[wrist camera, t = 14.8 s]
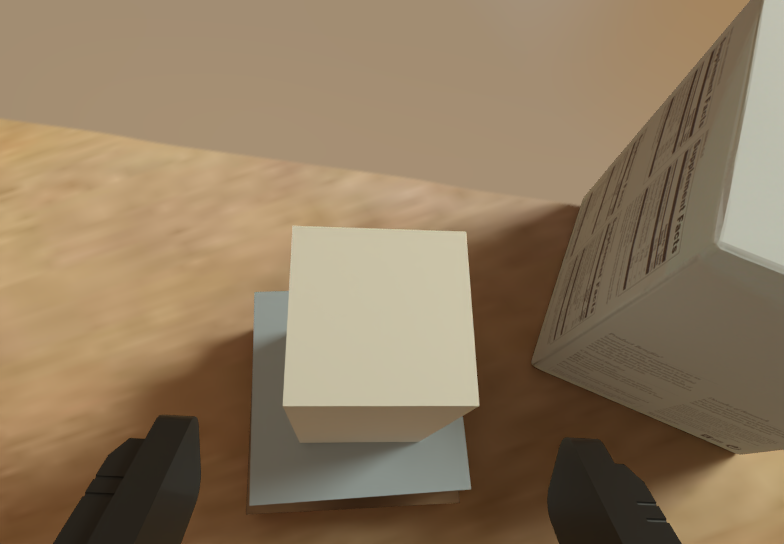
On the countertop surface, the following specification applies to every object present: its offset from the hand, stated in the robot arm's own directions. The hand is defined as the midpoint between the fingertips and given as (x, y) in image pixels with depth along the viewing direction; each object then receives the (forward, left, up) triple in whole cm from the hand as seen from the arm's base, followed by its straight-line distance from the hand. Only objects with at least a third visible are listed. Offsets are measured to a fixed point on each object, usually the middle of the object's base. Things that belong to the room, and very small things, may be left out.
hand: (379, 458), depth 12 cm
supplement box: (-19, -9, -19) cm, 29 cm away
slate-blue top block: (0, -4, -15) cm, 16 cm away
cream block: (0, -4, -11) cm, 12 cm away
